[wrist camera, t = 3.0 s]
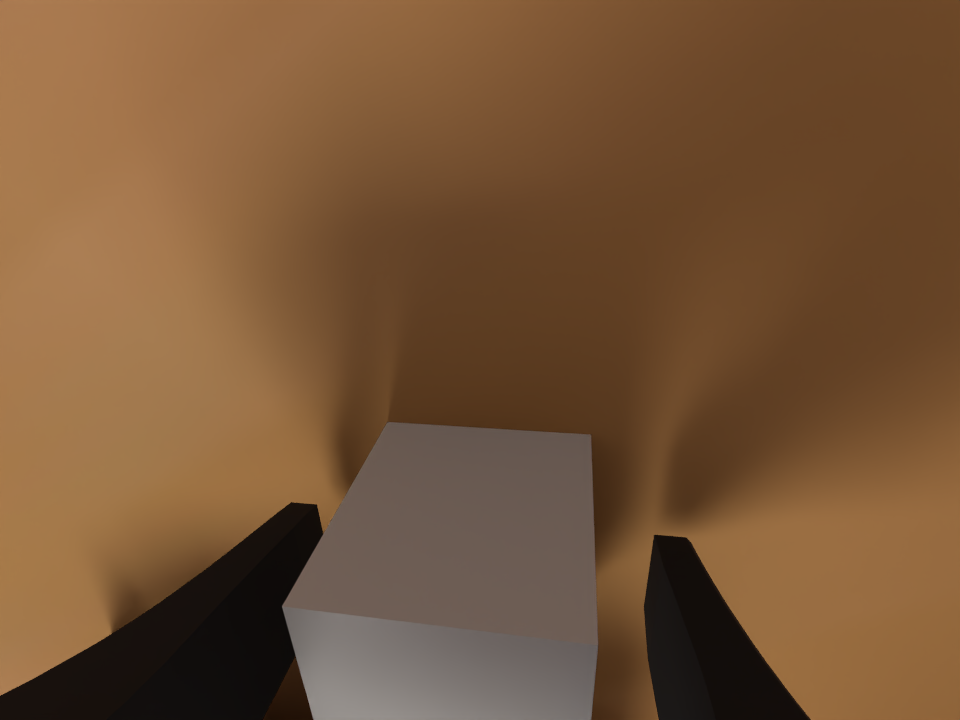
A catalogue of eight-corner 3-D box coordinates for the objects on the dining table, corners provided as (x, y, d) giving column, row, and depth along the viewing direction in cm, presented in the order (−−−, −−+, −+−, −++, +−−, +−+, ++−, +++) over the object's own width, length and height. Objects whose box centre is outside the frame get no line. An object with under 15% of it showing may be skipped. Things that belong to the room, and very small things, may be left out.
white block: (591, 433, 12) (598, 645, 7) (580, 583, 14) (581, 821, 9) (388, 420, 12) (281, 606, 8) (406, 565, 14) (330, 779, 10)
